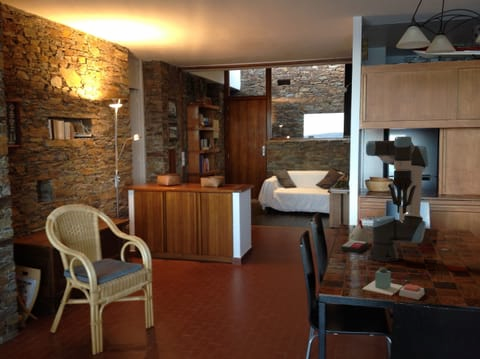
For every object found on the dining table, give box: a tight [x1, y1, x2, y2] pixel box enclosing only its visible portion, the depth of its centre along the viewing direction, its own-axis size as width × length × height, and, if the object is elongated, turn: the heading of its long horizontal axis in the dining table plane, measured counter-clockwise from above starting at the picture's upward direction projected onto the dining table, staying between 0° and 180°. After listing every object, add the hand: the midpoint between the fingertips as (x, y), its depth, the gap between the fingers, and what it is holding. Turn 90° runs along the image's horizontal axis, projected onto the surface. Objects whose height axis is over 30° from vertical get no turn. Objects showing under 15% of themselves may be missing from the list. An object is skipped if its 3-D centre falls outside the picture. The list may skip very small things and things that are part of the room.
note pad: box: [362, 280, 404, 297], centre depth 197 cm, size 14×13×1 cm
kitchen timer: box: [348, 219, 373, 247], centre depth 278 cm, size 14×14×15 cm
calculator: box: [340, 240, 368, 254], centre depth 265 cm, size 11×4×15 cm
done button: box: [403, 283, 421, 292], centre depth 188 cm, size 5×5×2 cm
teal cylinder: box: [374, 267, 392, 290], centre depth 197 cm, size 5×5×8 cm
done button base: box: [398, 284, 425, 301], centre depth 188 cm, size 8×8×3 cm
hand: (401, 220), depth 206 cm, fingers closed
